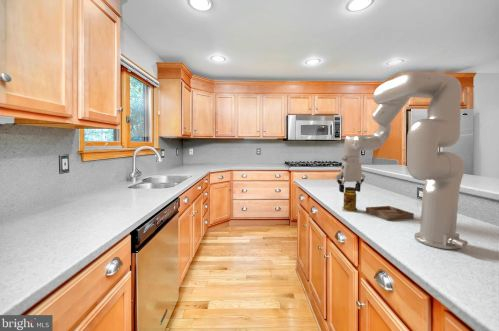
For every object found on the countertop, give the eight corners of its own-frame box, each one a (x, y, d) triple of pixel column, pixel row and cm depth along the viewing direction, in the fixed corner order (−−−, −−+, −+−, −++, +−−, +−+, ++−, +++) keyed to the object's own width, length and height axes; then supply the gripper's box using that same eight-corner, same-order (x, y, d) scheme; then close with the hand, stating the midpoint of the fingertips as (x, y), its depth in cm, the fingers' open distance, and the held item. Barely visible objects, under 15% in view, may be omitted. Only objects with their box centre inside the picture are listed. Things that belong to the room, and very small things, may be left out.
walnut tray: (413, 218, 106) (413, 213, 105) (388, 220, 103) (388, 215, 102) (388, 210, 119) (389, 205, 119) (365, 211, 116) (366, 207, 116)
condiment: (342, 211, 118) (343, 188, 117) (342, 206, 126) (342, 185, 125) (358, 212, 116) (359, 189, 115) (356, 208, 124) (357, 186, 123)
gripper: (341, 160, 113) (339, 193, 115) (370, 159, 117) (368, 192, 119) (332, 159, 121) (331, 190, 122) (360, 158, 124) (358, 189, 126)
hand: (349, 191), depth 121 cm, fingers open, 9 cm apart
